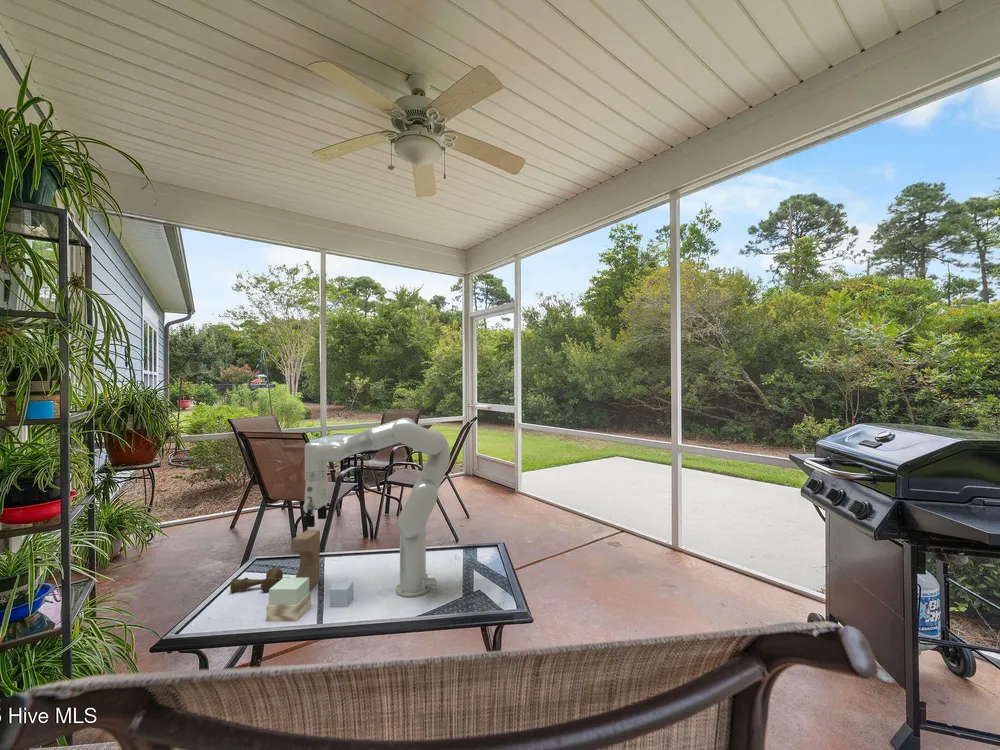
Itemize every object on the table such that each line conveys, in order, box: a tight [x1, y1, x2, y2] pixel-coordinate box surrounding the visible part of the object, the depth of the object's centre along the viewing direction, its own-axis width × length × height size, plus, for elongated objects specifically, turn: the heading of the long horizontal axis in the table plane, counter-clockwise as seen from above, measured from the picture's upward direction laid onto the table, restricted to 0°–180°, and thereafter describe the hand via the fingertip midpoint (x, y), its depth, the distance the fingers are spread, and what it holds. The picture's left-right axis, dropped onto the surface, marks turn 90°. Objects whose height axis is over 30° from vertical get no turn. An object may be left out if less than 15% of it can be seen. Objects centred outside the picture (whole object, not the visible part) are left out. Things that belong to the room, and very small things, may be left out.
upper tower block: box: [268, 577, 310, 605], centre depth 145 cm, size 9×9×5 cm
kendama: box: [229, 567, 291, 594], centre depth 163 cm, size 6×10×20 cm
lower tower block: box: [265, 591, 312, 622], centre depth 144 cm, size 10×10×5 cm
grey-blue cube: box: [329, 581, 354, 608], centre depth 151 cm, size 6×6×6 cm
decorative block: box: [292, 529, 321, 592], centre depth 164 cm, size 11×6×20 cm, turn 177°
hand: (316, 522), depth 158 cm, fingers open, 9 cm apart
